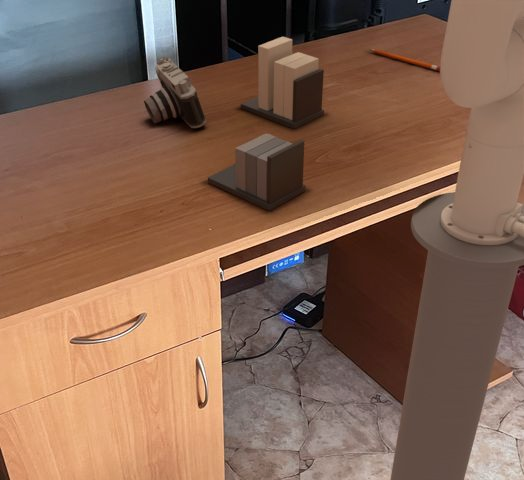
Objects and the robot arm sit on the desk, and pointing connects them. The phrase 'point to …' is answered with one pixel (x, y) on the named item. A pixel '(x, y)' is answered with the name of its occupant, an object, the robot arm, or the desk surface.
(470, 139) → the robot arm
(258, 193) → the grey rack
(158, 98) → the camera
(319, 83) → the dark bookend stand
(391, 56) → the pencil
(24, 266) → the desk surface
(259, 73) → the white book
